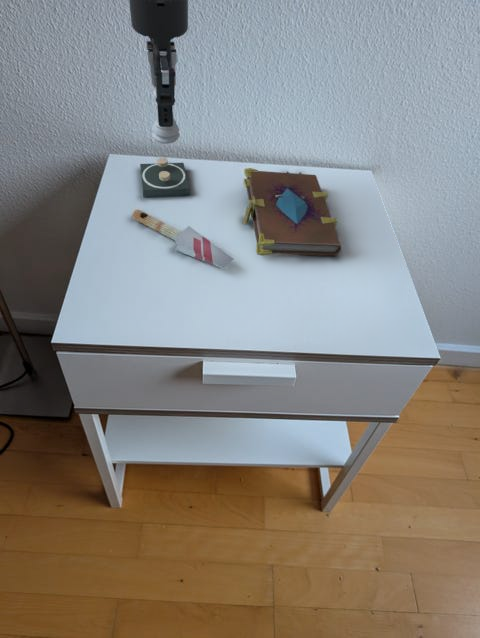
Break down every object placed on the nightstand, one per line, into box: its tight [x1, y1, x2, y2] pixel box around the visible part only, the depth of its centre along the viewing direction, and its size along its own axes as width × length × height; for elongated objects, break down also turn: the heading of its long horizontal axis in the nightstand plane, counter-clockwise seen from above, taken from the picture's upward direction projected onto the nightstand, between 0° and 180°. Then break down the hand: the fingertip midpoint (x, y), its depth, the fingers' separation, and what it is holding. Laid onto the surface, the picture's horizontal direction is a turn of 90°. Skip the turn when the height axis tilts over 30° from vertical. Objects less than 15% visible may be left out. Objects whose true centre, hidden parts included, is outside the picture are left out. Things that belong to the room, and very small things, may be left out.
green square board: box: [139, 162, 190, 198], centre depth 81 cm, size 8×8×2 cm
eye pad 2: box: [159, 171, 170, 181], centre depth 79 cm, size 2×2×1 cm
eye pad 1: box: [156, 156, 169, 167], centre depth 81 cm, size 2×2×1 cm
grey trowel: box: [132, 209, 235, 269], centre depth 71 cm, size 4×3×20 cm
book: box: [242, 167, 342, 257], centre depth 78 cm, size 16×25×5 cm, turn 6°
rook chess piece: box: [151, 87, 180, 145], centre depth 67 cm, size 4×4×8 cm
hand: (164, 118), depth 68 cm, fingers closed on rook chess piece, 3 cm apart
